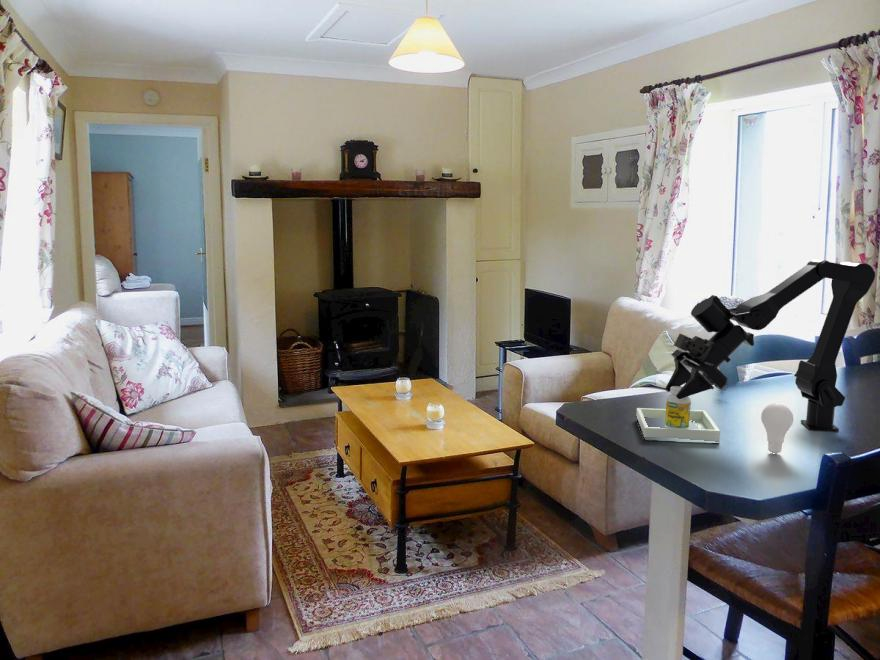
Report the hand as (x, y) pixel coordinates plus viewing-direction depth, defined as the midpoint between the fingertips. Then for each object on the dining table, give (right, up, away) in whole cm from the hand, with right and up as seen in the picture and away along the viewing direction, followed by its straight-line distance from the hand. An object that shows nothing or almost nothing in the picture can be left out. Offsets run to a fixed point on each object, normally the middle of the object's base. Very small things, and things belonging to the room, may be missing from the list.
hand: (671, 394), depth 164 cm
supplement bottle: (+2, -8, +2) cm, 9 cm away
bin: (+1, -9, +2) cm, 9 cm away
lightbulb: (+17, -12, -14) cm, 25 cm away
